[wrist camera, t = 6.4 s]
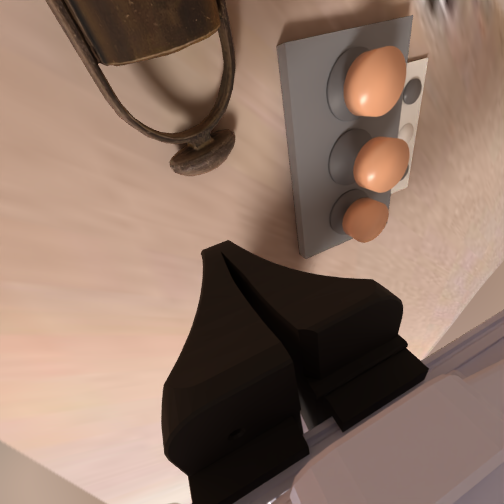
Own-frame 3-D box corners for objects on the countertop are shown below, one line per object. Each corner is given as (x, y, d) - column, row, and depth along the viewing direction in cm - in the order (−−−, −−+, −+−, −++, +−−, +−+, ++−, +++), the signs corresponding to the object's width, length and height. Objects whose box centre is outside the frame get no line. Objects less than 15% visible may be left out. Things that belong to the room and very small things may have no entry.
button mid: (380, 176, 23) (405, 183, 21) (344, 190, 22) (366, 199, 20) (385, 129, 20) (413, 131, 18) (345, 143, 20) (370, 147, 17)
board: (378, 219, 30) (389, 224, 28) (299, 253, 27) (307, 260, 26) (399, 19, 20) (416, 13, 18) (276, 46, 17) (287, 41, 16)
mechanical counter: (293, -160, 10) (-106, -478, 5) (285, 178, 15) (98, 208, 10) (210, -51, 15) (-15, -140, 10) (226, 169, 20) (85, 185, 15)
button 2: (374, 109, 21) (401, 109, 18) (334, 121, 20) (358, 122, 18) (379, 48, 18) (410, 40, 16) (334, 59, 17) (361, 52, 15)
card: (405, 186, 29) (408, 187, 28) (384, 194, 28) (388, 196, 28) (425, 58, 22) (430, 57, 22) (399, 65, 21) (404, 64, 21)
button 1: (366, 224, 27) (386, 233, 25) (335, 237, 26) (353, 248, 24) (369, 188, 24) (390, 196, 22) (335, 202, 24) (354, 211, 22)
